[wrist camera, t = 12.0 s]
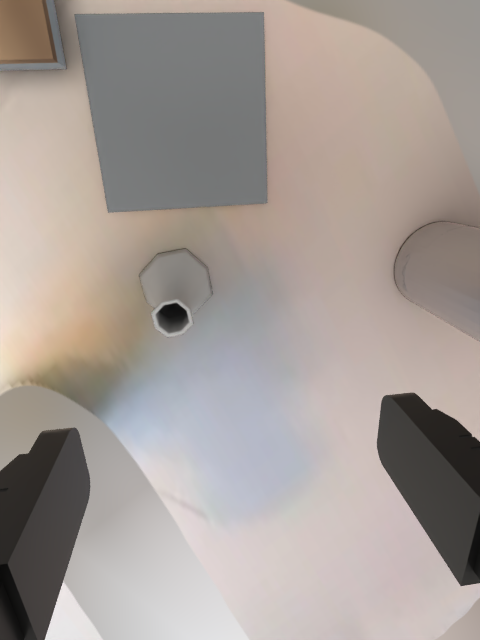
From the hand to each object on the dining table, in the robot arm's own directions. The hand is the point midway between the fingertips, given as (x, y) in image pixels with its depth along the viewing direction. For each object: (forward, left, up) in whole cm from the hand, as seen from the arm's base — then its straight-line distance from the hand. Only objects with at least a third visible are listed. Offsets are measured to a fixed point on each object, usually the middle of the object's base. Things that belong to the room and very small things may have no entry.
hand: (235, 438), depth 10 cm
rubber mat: (+1, -11, -30) cm, 32 cm away
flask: (+3, +4, -30) cm, 31 cm away
